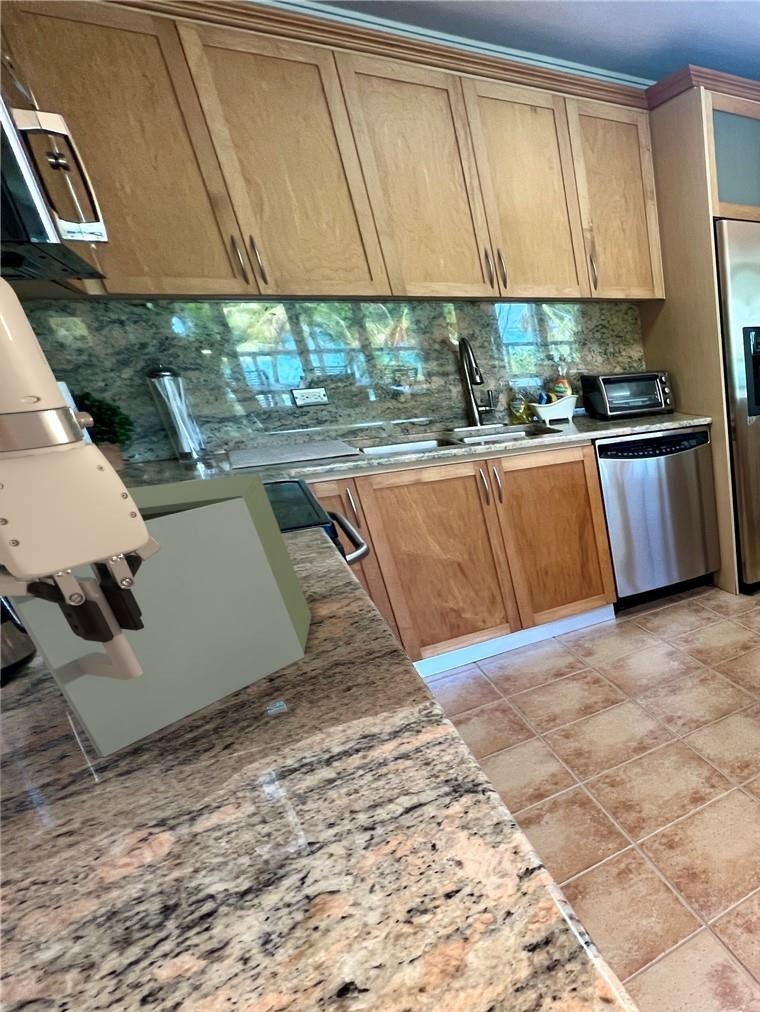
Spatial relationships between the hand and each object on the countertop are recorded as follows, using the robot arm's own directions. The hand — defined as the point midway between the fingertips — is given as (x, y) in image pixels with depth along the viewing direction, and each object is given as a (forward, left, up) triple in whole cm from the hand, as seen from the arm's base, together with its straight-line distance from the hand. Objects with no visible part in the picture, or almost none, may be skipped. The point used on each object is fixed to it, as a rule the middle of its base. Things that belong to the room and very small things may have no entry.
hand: (113, 632), depth 60 cm
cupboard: (-19, +17, -14) cm, 29 cm away
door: (-3, +8, -14) cm, 16 cm away
